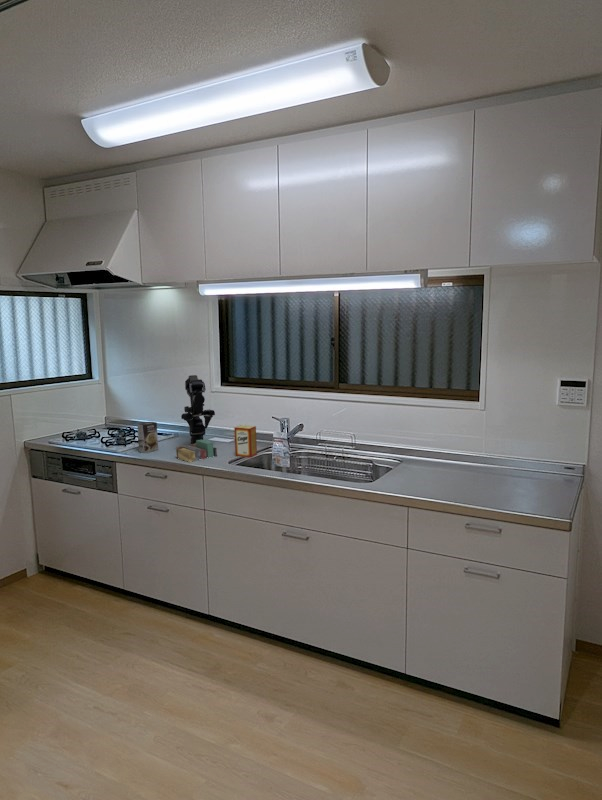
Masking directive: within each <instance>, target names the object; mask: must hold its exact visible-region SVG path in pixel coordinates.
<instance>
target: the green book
mask: <svg viewBox="0 0 602 800" xmlns="http://www.w3.org/2000/svg"><path fill="white" fill-rule="evenodd" d="M213 447H214V442H212V441H209V440H205V439H203V440H197V441H196V448H200V449H203V450H206V457H208V458H207V459H210V458H209V457H211V458H214V457H215V456H214V453H213ZM213 456H214V457H213Z"/></svg>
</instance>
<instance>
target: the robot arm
mask: <svg viewBox="0 0 602 800" xmlns="http://www.w3.org/2000/svg"><path fill="white" fill-rule="evenodd" d="M205 384H206V383H205V382H204V381H203V380H202V379H201V378H200V379H199V378H198V375H196V374H195V375H194V374H192V375H188V378H186V380H185V382H184V386H185V387H184V388H185V391H186V394H187V395H188V397H189V401H190V406H188V405H186V406H184V409H183V410H184V413H182V414H181V416H180V417H181V418H180V419H182V420H184V421H186V422H187V424H188V427H189V428H188V434H189V436H190V444H195V443H196V441H197V440H204V436H205V435H206V429H208V427H209V425H210V422H211V420H212V418H213V417H214V416H215V415H216V411H215V410H214V409H210V408H209V409H204V407H205V401H206V400H205V396H204V395H203V393H205V392H206V385H205ZM201 416H202V417H203V418H204V420H203V419H202V418H200V417H201ZM203 421H204V422H203Z"/></svg>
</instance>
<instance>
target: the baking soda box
mask: <svg viewBox="0 0 602 800" xmlns="http://www.w3.org/2000/svg"><path fill="white" fill-rule="evenodd" d="M257 448H258V447H257V426H256V425H247V424H245V425H243V424H241V425H240V424H239V425H238V426H235V427H234V449H235V450H234V452H235V457H240V458H241V457H244V458H253V457H255V456H257V455H258V453H257V452H258V450H257Z"/></svg>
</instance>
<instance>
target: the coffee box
mask: <svg viewBox="0 0 602 800" xmlns="http://www.w3.org/2000/svg"><path fill="white" fill-rule="evenodd" d="M158 436H159V435H158V423H157V421H156V422H155V421H147V422H141V423H137V440H138V441H137V442H138V452H139V453H143V454H148V453H152V452H155V451H159V439H158ZM151 451H152V452H151Z"/></svg>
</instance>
